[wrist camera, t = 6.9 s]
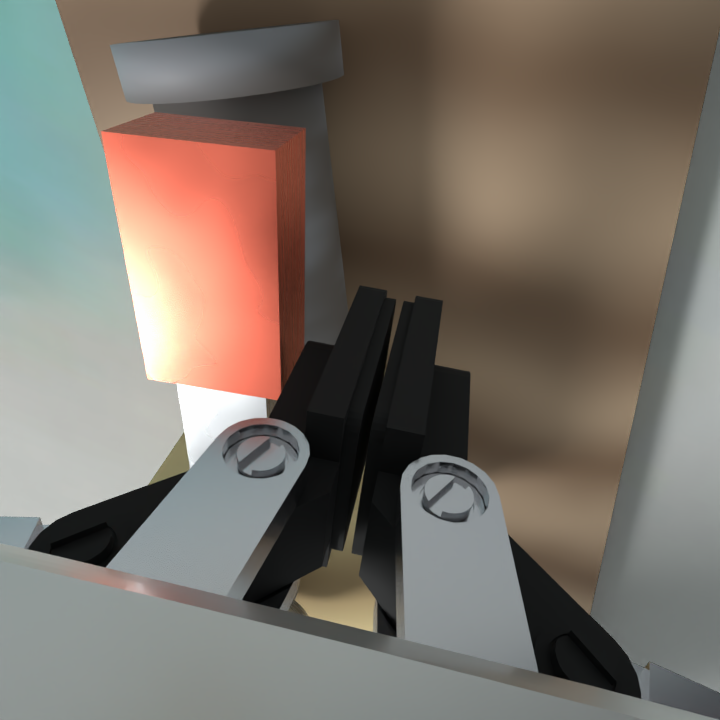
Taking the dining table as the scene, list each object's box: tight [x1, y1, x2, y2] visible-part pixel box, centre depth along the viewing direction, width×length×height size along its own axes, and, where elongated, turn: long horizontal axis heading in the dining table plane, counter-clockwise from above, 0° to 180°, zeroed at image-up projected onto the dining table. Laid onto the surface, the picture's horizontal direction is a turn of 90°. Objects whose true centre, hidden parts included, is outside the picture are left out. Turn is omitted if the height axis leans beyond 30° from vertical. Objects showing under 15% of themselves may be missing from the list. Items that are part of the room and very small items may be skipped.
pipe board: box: [55, 0, 720, 632], centre depth 20 cm, size 36×18×10 cm, turn 5°
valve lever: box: [101, 112, 308, 616], centre depth 13 cm, size 16×3×2 cm, turn 176°
